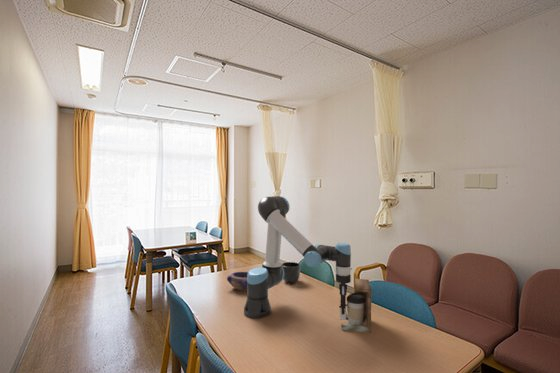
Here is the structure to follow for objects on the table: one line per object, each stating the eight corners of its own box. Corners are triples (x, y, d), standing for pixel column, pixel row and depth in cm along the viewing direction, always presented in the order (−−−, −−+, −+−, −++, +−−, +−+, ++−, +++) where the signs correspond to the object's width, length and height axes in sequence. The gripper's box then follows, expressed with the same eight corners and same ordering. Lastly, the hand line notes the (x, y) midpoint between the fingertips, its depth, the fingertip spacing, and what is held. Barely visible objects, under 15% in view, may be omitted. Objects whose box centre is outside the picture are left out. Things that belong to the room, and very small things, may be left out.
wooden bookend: (341, 329, 137) (341, 286, 137) (341, 316, 151) (341, 277, 151) (371, 333, 134) (371, 289, 134) (368, 319, 148) (368, 279, 148)
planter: (300, 285, 199) (300, 267, 199) (281, 285, 199) (281, 267, 199) (299, 278, 213) (299, 262, 213) (281, 278, 213) (281, 261, 213)
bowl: (261, 286, 196) (261, 272, 196) (244, 295, 181) (244, 279, 181) (241, 282, 206) (241, 268, 206) (224, 289, 191) (224, 275, 191)
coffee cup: (365, 330, 137) (365, 299, 137) (346, 328, 139) (346, 298, 139) (363, 321, 146) (363, 292, 146) (346, 319, 148) (346, 291, 148)
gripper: (350, 278, 137) (350, 326, 137) (350, 270, 150) (350, 314, 150) (335, 277, 139) (335, 324, 139) (336, 269, 151) (335, 313, 151)
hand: (342, 319), depth 144 cm, fingers closed
